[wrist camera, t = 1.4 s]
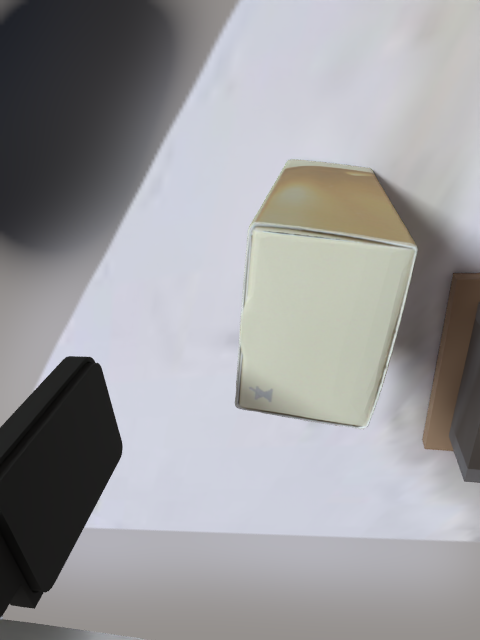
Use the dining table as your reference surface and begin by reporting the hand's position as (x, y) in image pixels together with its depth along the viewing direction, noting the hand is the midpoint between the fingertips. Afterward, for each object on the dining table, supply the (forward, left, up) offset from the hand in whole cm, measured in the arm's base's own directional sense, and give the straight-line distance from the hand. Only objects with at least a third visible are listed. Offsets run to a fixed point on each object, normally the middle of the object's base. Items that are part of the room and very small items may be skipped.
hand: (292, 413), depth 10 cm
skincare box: (0, 0, -15) cm, 15 cm away
